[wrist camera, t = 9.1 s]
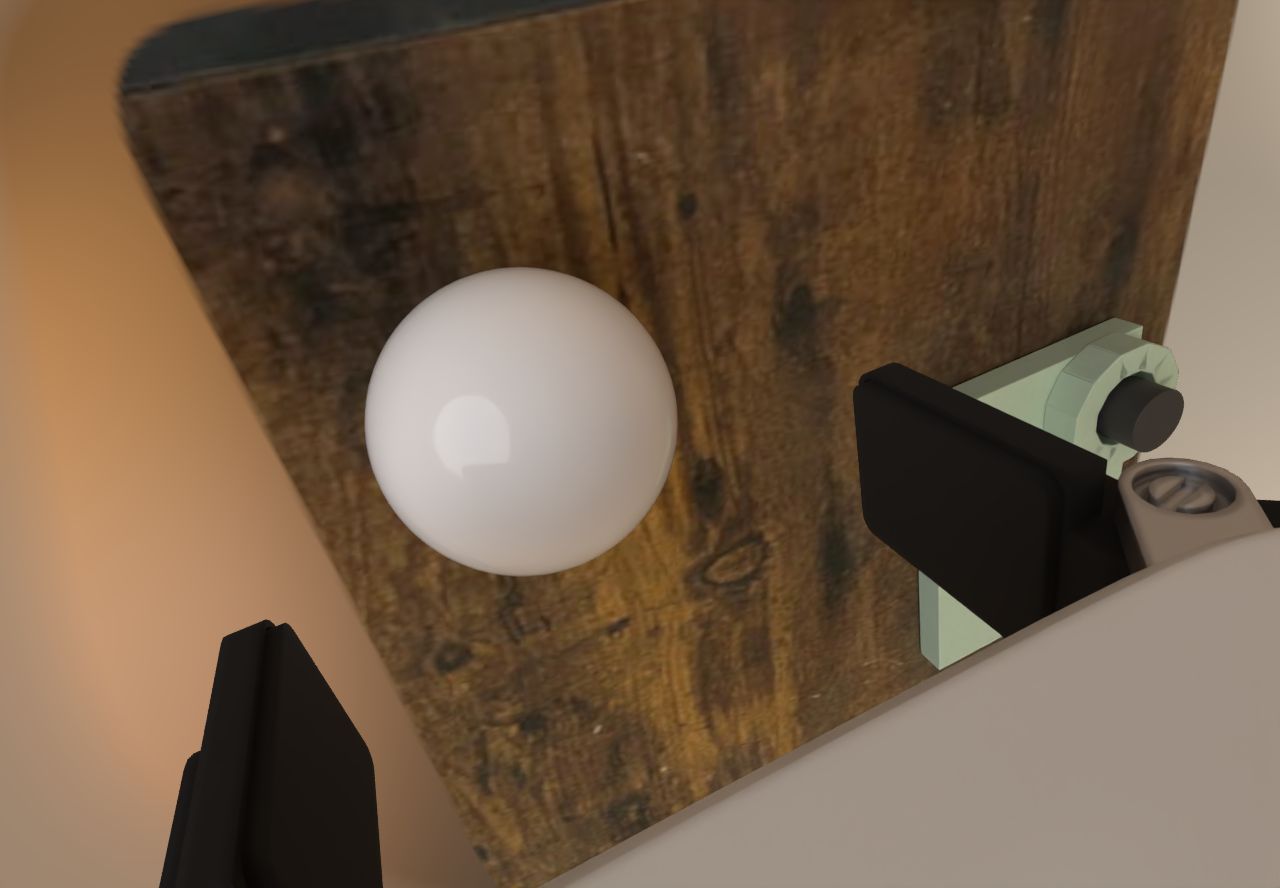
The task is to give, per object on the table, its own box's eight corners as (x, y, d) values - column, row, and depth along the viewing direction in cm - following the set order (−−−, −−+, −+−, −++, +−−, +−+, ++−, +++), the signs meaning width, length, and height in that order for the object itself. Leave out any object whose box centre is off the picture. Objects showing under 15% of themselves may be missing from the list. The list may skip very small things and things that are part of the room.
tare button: (1097, 389, 30) (1137, 404, 29) (1148, 365, 31) (1189, 379, 29) (1091, 445, 32) (1128, 462, 30) (1139, 422, 32) (1178, 438, 31)
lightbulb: (604, 305, 23) (792, 448, 14) (479, 454, 24) (581, 686, 15) (444, 161, 20) (554, 227, 11) (301, 340, 20) (289, 550, 11)
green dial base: (913, 396, 30) (967, 424, 28) (1121, 307, 33) (1187, 325, 30) (920, 652, 38) (963, 692, 35) (1087, 564, 40) (1138, 596, 38)
